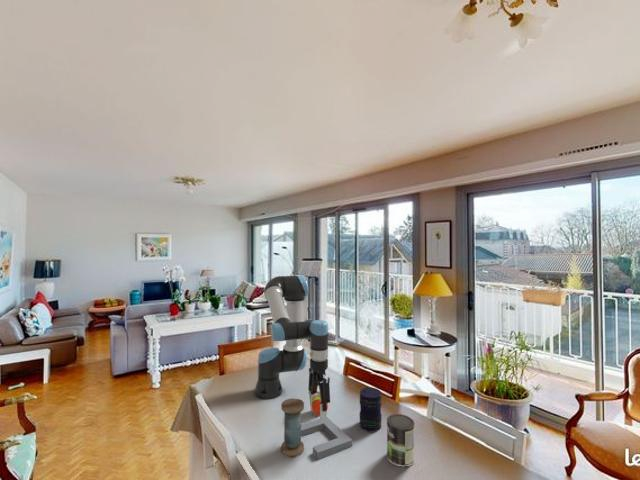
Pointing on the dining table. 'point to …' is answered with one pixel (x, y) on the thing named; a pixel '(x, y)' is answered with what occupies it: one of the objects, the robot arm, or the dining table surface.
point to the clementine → (317, 405)
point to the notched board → (336, 433)
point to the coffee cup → (310, 400)
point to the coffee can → (400, 440)
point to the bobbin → (292, 427)
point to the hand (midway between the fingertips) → (318, 413)
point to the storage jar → (370, 409)
